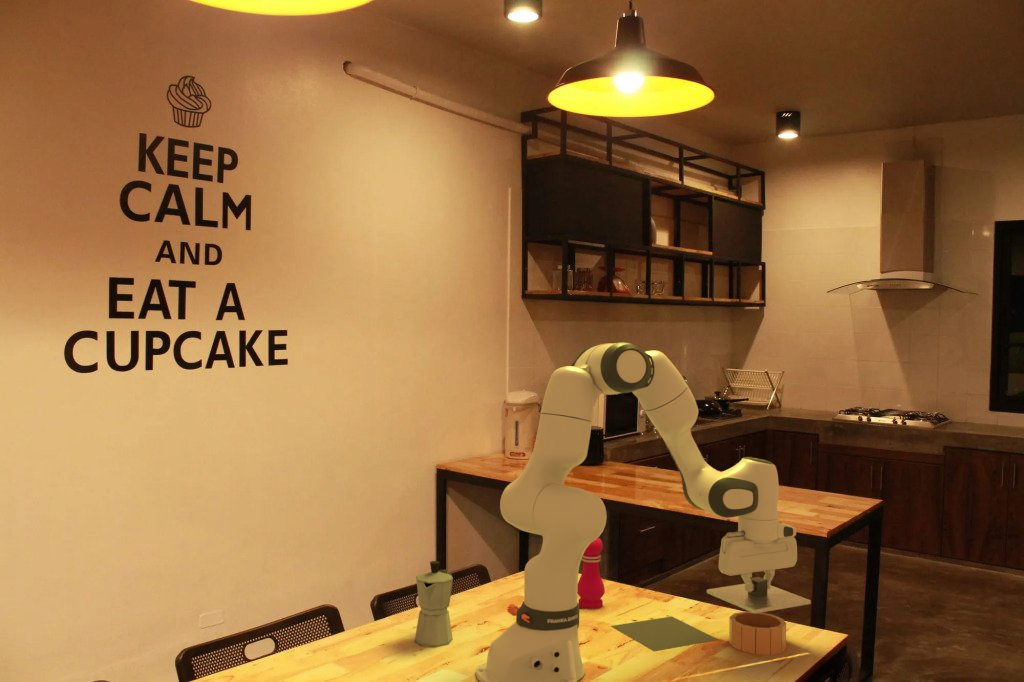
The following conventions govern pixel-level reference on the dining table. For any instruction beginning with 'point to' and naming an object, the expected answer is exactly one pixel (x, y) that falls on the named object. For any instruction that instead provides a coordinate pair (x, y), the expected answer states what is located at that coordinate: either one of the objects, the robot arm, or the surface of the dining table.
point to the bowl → (757, 633)
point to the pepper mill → (591, 578)
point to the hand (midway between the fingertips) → (757, 590)
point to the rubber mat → (663, 633)
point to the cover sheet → (758, 597)
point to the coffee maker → (434, 607)
